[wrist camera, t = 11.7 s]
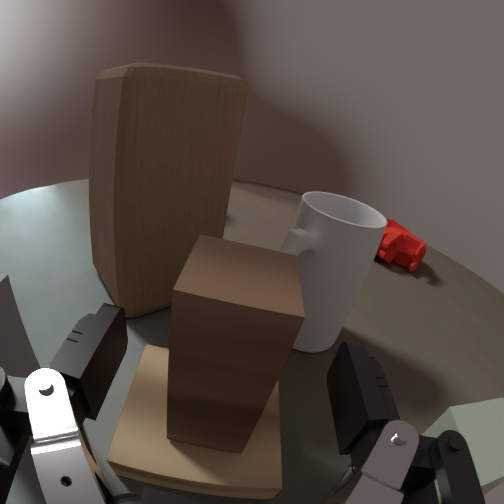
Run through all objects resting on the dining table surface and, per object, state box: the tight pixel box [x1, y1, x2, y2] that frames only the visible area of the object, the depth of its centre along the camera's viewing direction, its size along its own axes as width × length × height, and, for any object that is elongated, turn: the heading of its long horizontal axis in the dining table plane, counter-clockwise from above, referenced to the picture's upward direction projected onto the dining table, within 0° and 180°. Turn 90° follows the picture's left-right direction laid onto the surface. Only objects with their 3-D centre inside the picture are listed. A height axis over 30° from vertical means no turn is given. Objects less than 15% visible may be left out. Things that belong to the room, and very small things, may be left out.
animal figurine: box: [377, 219, 426, 272], centre depth 47 cm, size 12×15×5 cm
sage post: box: [422, 397, 504, 504], centre depth 10 cm, size 4×4×10 cm
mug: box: [279, 192, 387, 353], centre depth 24 cm, size 10×7×12 cm, turn 129°
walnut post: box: [167, 234, 305, 454], centre depth 13 cm, size 4×4×10 cm
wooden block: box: [89, 62, 248, 318], centre depth 25 cm, size 10×10×20 cm
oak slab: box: [107, 344, 282, 499], centre depth 16 cm, size 9×9×3 cm
